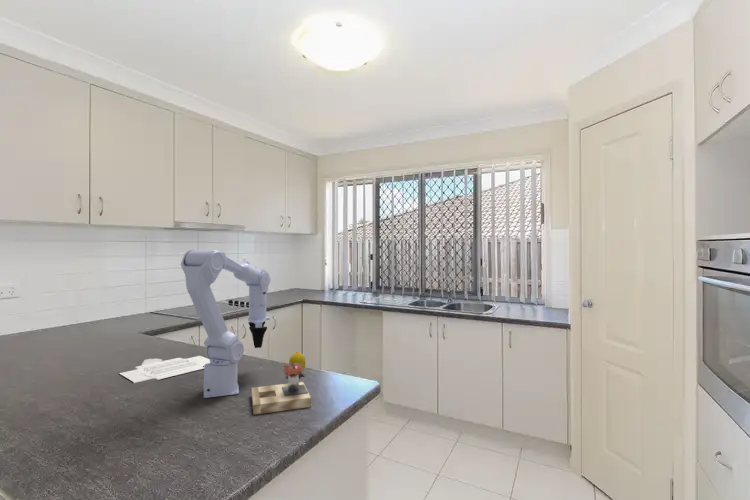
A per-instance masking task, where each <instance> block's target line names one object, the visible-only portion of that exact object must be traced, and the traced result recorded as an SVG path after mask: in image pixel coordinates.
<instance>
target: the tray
mask: <svg viewBox="0 0 750 500" xmlns="http://www.w3.org/2000/svg"><path fill="white" fill-rule="evenodd" d="M208 363H210V359H209V358H208V357H204V356H202V355H196V356H193V357H188V358H182V357H176V358H171V359H167V360H163V359H162V358H156V357H155V358H147V359H146V358H145V359H144V360H143V362H141V364H140V365H137V366H135V367H134V369H133V370H129V371H123V372H120V373H118V375H121V376H123V377H125V378H126V379H128V380H130V381H131V382H133V384H136V383H140V382H141V383H142V382H144V381H145V382H146V381H148V380H157V381H159V380H162V379H166V378H170V377H174V376H179V375H183V374H186V373H191V372H195V371H200V370H204V367H205V364H208ZM203 366H204V367H203Z"/></svg>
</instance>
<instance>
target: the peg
mask: <svg viewBox="0 0 750 500" xmlns="http://www.w3.org/2000/svg"><path fill="white" fill-rule="evenodd" d="M283 374H284V375H285V376H287V384H288V391H290V392H294V391H298V390H299V382H300V381H299V380H300V379H299V376H300V375H301V374H303V371H302V364H299V363H291V364H289V363H287V364H285V365H284V366H283Z"/></svg>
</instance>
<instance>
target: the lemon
mask: <svg viewBox="0 0 750 500" xmlns="http://www.w3.org/2000/svg"><path fill="white" fill-rule="evenodd" d="M291 363H299V364H302V372H303V371H304V370H305V367H306V358H305V355H304V354H303V353H302V352H299V351H296V352H294V353H292V355H291V356H290V357H289V362H288V364H291Z"/></svg>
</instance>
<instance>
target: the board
mask: <svg viewBox="0 0 750 500" xmlns="http://www.w3.org/2000/svg"><path fill="white" fill-rule="evenodd" d="M251 406H252V412H253V414H252V415H255V416H256V415H262V414H268V413H275V412H276V413H277V412H283V411H289V410H298V409H303V408H304V409H305V408H312V397H311V395H310V393H309V390H308V389H307V387H306V385H305V383H304V382H303V381H299V390H298V391H294V392H290V391H288V383H281V384H271V385H265V386H256V387H254V386H253V387H251Z"/></svg>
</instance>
